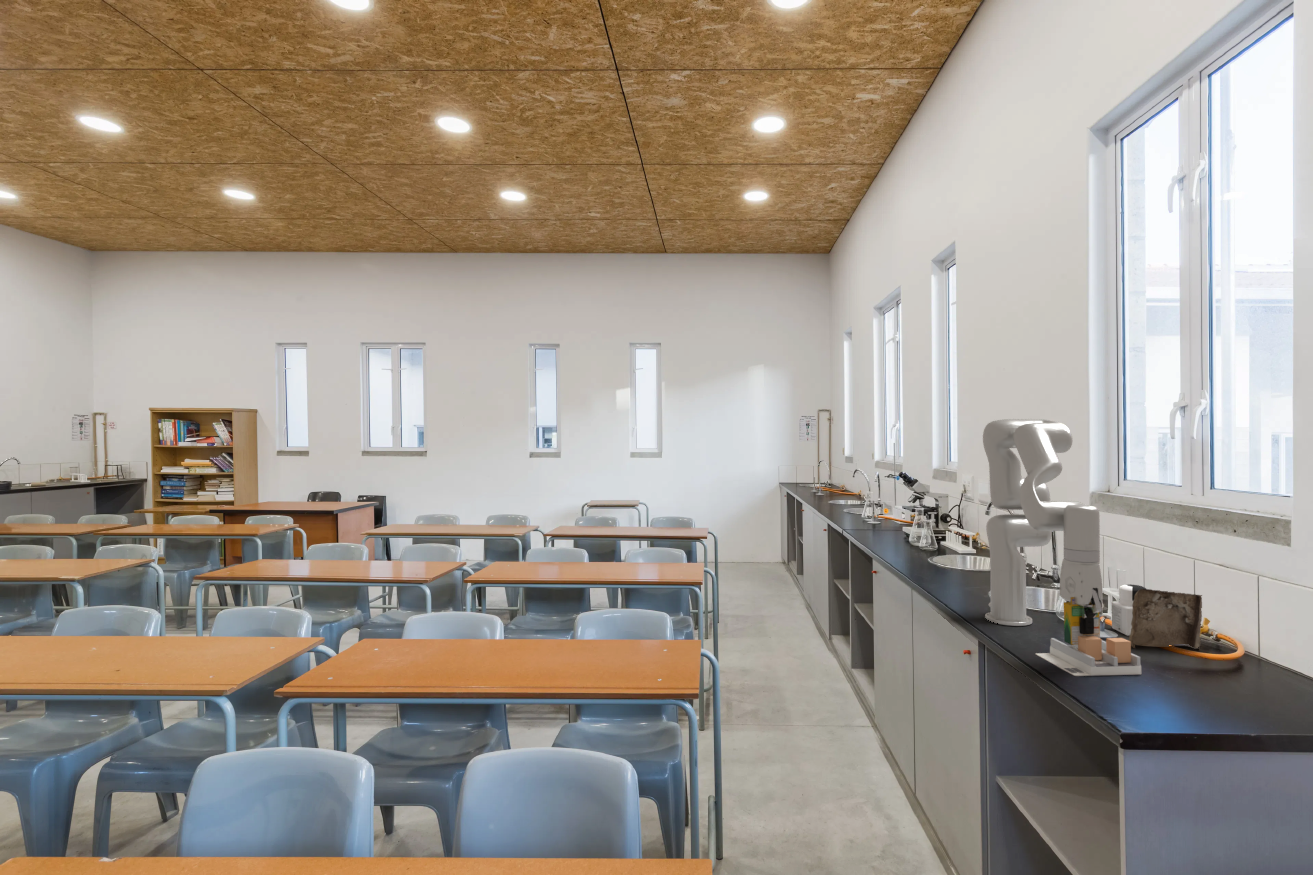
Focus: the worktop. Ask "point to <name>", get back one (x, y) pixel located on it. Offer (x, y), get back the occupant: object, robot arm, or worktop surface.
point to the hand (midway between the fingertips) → (1081, 630)
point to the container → (1124, 608)
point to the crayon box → (1076, 623)
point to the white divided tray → (1088, 661)
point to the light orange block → (1119, 649)
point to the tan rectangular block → (1090, 646)
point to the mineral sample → (1165, 619)
